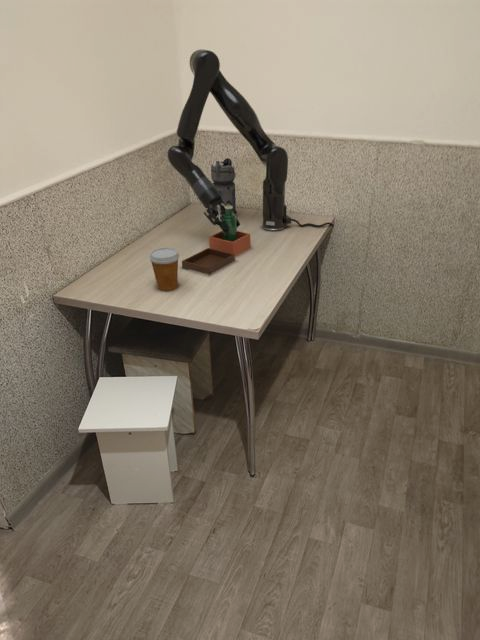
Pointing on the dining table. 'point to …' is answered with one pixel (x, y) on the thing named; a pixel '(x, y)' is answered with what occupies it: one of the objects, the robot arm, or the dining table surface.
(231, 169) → the beverage bottle
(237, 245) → the bin
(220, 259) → the tray
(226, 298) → the dining table surface
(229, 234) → the bottle
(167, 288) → the disposable coffee cup
